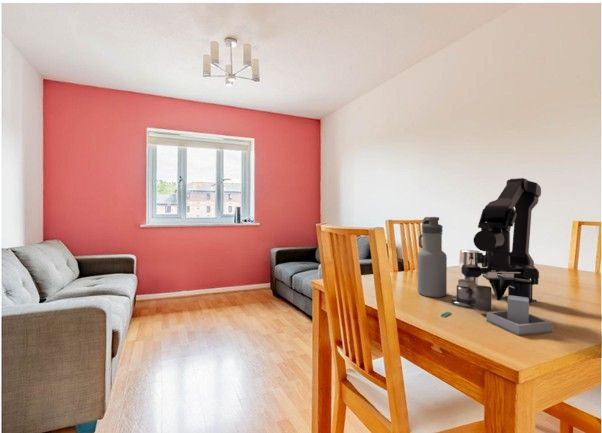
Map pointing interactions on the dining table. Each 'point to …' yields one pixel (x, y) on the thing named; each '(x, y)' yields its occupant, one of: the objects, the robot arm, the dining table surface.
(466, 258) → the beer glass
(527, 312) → the block
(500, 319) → the tray
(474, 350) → the dining table surface
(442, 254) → the water bottle
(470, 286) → the crank arm
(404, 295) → the dining table surface
